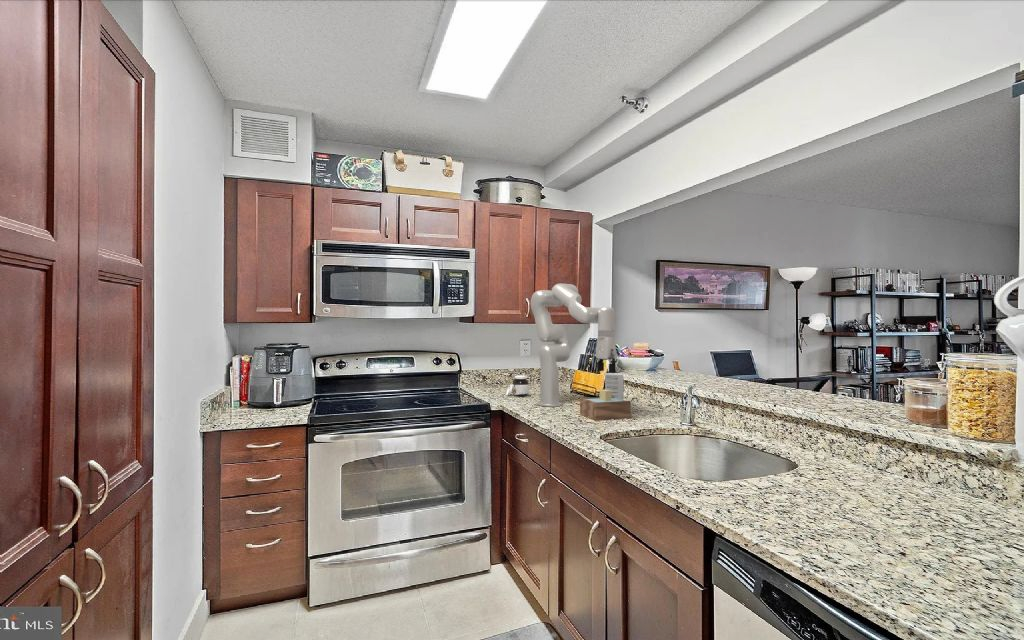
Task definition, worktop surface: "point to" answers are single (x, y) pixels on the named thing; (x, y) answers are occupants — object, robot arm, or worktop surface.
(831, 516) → the worktop surface
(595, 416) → the slide box
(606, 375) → the supplement box
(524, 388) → the spread jar
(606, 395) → the cover plate
